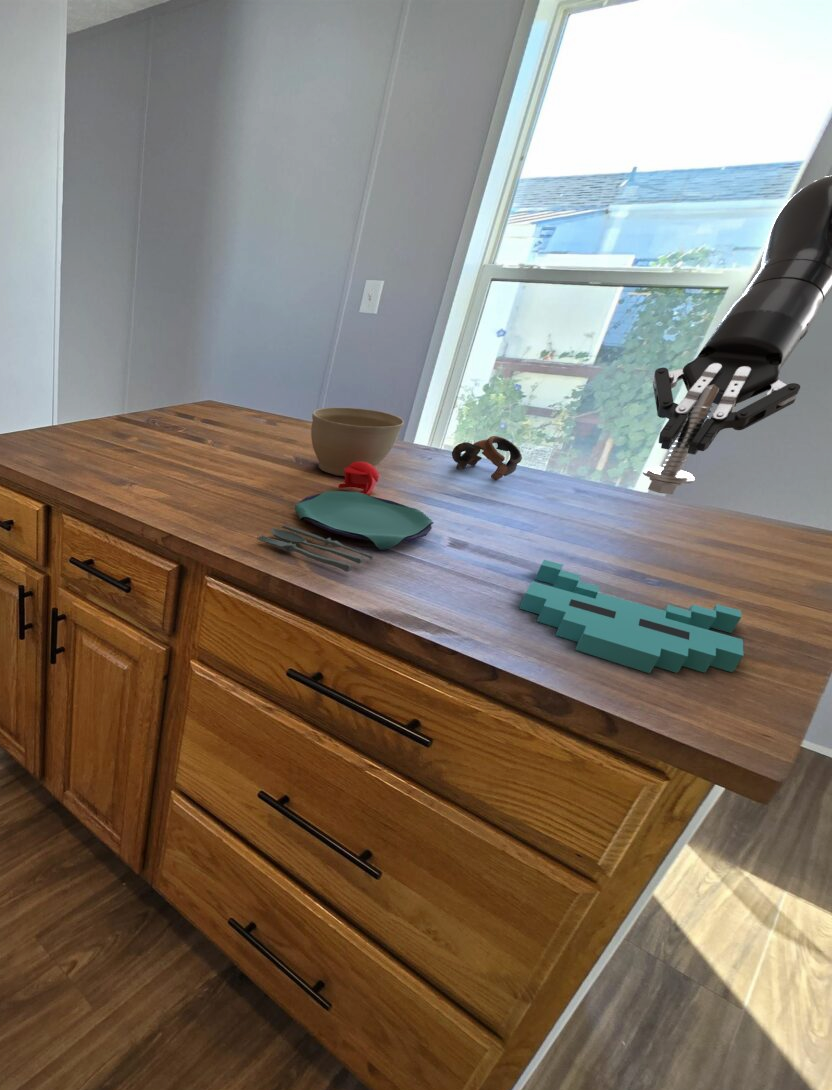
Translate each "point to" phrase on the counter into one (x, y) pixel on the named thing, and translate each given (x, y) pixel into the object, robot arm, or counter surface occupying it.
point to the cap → (361, 477)
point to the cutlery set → (352, 524)
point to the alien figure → (633, 626)
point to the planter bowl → (352, 437)
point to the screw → (682, 448)
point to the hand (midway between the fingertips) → (679, 447)
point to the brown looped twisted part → (488, 455)
